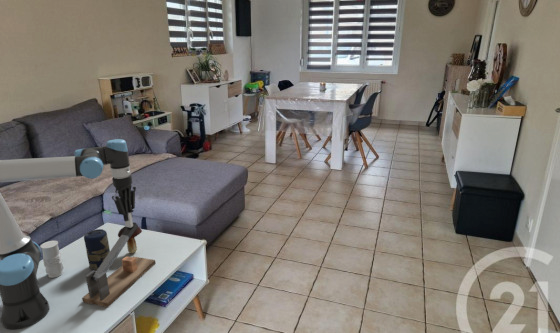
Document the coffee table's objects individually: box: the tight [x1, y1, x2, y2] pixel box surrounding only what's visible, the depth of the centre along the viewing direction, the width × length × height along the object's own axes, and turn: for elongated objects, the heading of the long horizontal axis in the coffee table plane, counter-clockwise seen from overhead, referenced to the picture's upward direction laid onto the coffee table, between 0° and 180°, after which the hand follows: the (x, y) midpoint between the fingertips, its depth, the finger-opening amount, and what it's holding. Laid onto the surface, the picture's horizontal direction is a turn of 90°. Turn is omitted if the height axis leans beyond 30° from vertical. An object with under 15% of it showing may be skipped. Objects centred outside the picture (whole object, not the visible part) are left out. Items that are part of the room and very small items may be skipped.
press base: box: [81, 256, 156, 308], centre depth 158 cm, size 12×32×12 cm, turn 164°
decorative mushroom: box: [117, 225, 143, 254], centre depth 181 cm, size 11×11×15 cm
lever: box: [91, 222, 139, 281], centre depth 155 cm, size 4×29×2 cm, turn 164°
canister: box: [83, 228, 111, 271], centre depth 169 cm, size 10×10×18 cm
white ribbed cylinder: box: [39, 240, 64, 279], centre depth 164 cm, size 7×7×15 cm
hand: (129, 226), depth 162 cm, fingers closed
